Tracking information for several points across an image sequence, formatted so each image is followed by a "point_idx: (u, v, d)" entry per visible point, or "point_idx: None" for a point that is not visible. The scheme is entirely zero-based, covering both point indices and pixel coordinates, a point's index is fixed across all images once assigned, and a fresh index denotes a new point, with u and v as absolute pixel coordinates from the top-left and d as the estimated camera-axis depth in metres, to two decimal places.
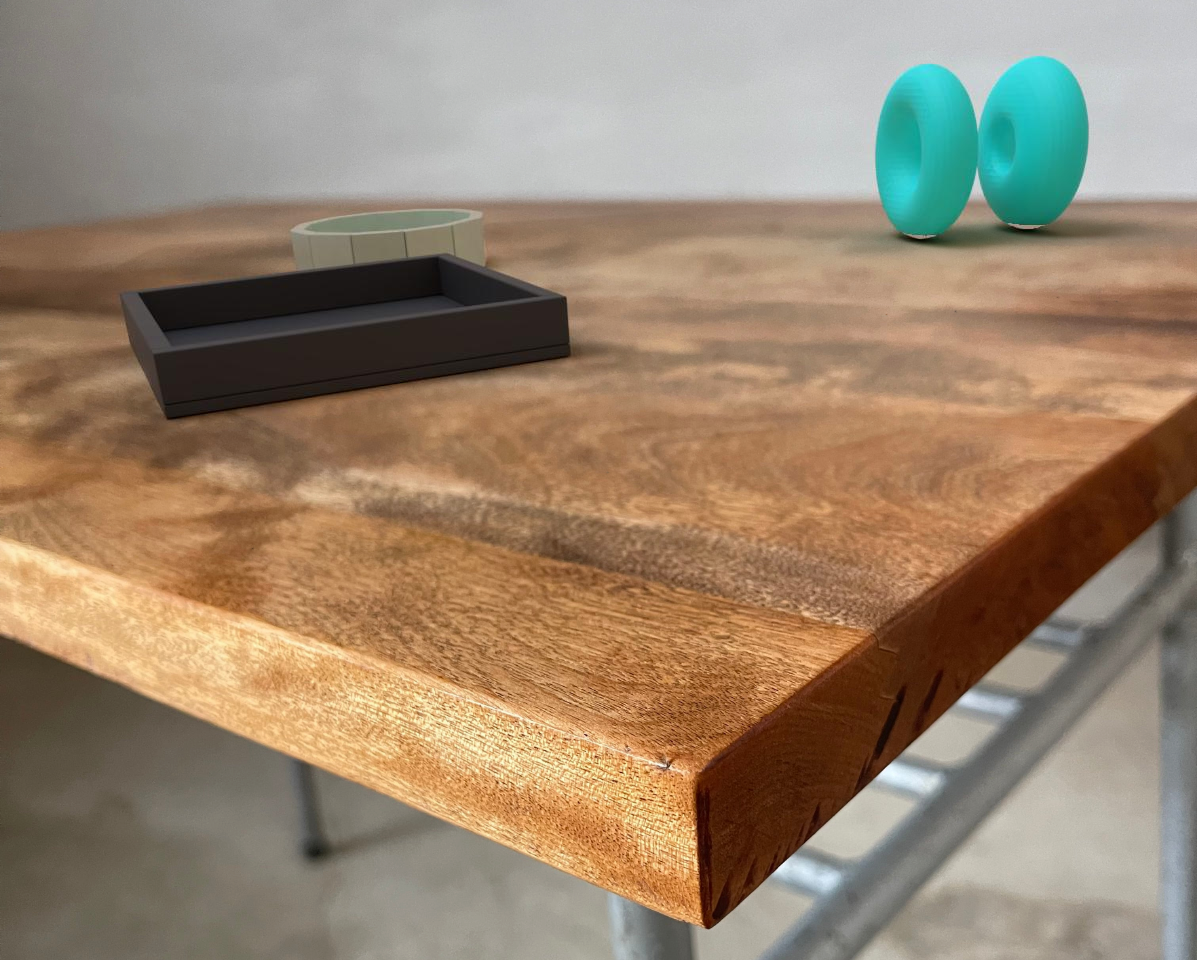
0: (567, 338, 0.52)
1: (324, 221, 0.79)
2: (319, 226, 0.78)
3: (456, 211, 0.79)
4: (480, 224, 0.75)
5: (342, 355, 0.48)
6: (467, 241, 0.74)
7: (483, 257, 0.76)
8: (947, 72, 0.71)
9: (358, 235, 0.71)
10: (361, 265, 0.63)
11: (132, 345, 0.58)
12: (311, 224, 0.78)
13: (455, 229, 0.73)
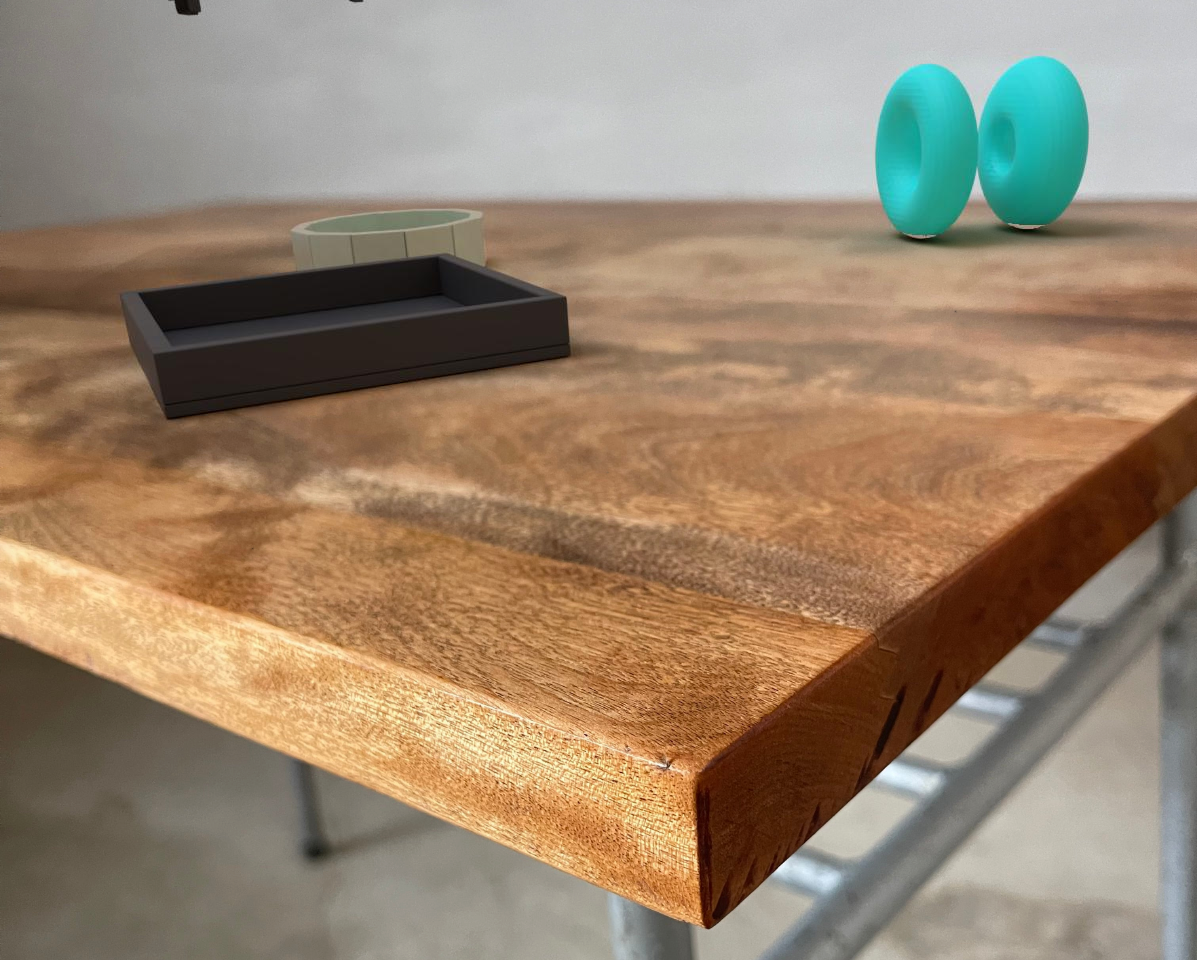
0: (567, 338, 0.52)
1: (324, 221, 0.79)
2: (319, 226, 0.78)
3: (456, 211, 0.79)
4: (480, 224, 0.75)
5: (342, 355, 0.48)
6: (467, 241, 0.74)
7: (483, 257, 0.76)
8: (947, 72, 0.71)
9: (358, 235, 0.71)
10: (361, 265, 0.63)
11: (132, 345, 0.58)
12: (311, 224, 0.78)
13: (455, 229, 0.73)
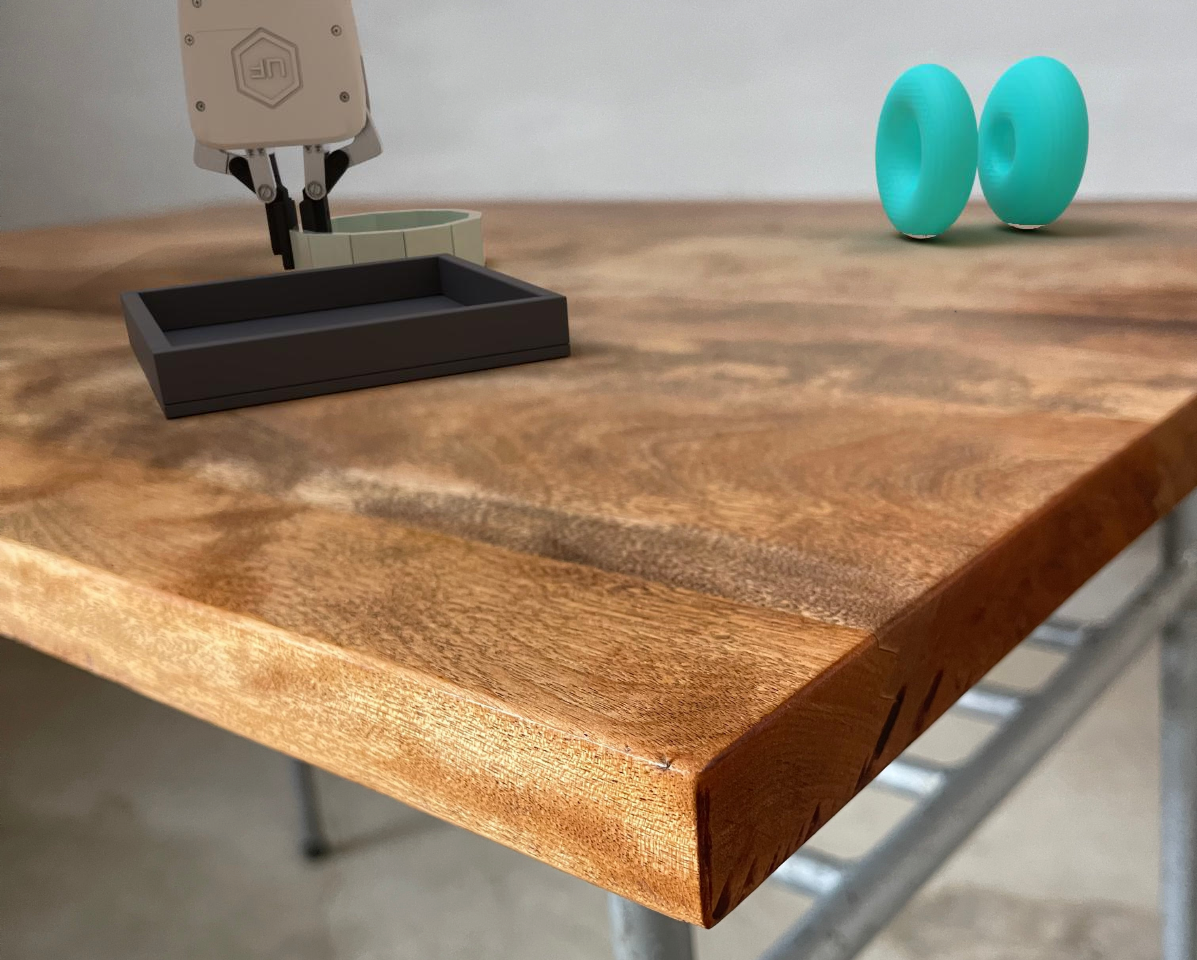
0: (567, 338, 0.52)
1: None
2: None
3: (455, 211, 0.79)
4: (479, 224, 0.75)
5: (342, 355, 0.48)
6: (466, 241, 0.74)
7: (482, 257, 0.76)
8: (947, 72, 0.71)
9: (357, 235, 0.71)
10: (361, 265, 0.63)
11: (132, 345, 0.58)
12: None
13: (454, 229, 0.73)
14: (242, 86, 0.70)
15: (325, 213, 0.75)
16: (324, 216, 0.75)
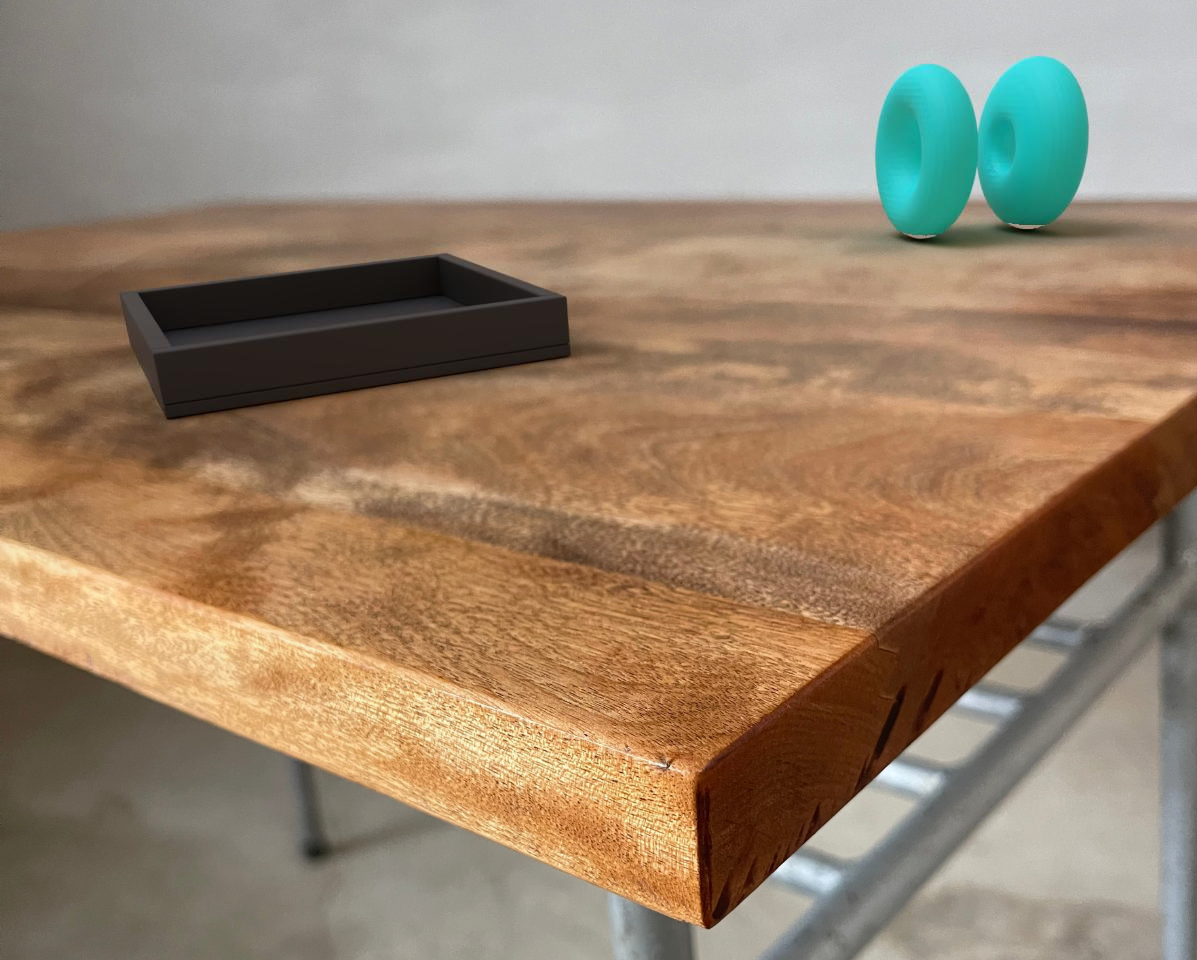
0: (567, 338, 0.52)
1: None
2: None
3: None
4: None
5: (342, 355, 0.48)
6: None
7: None
8: (947, 72, 0.71)
9: None
10: (361, 265, 0.63)
11: (132, 345, 0.58)
12: None
13: None
14: None
15: None
16: None
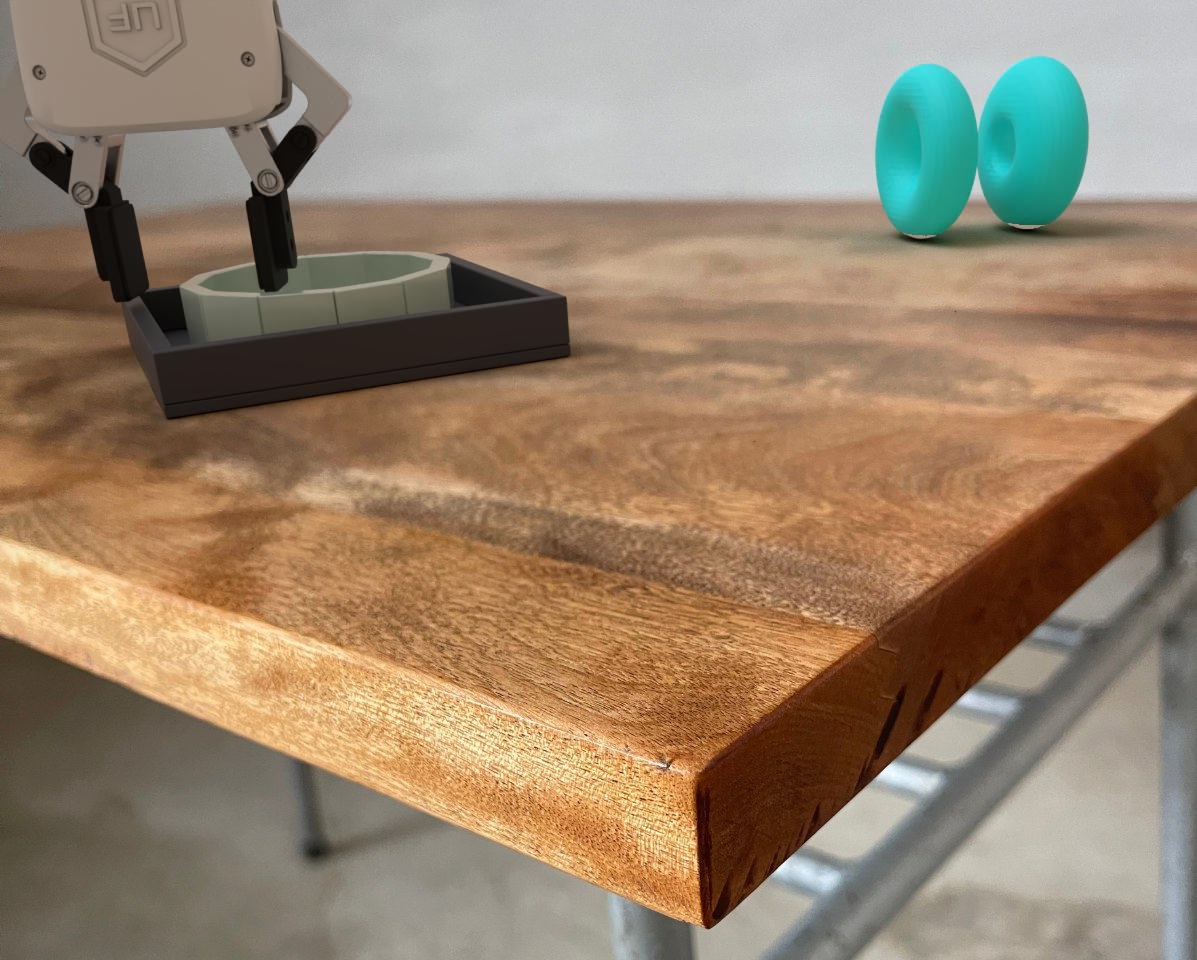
0: (567, 338, 0.52)
1: (233, 270, 0.57)
2: (225, 277, 0.57)
3: (414, 256, 0.58)
4: (445, 277, 0.54)
5: (342, 355, 0.48)
6: (426, 302, 0.53)
7: None
8: (947, 72, 0.71)
9: (268, 297, 0.50)
10: None
11: (132, 345, 0.58)
12: (213, 275, 0.56)
13: (408, 287, 0.52)
14: (98, 43, 0.49)
15: (283, 215, 0.53)
16: (282, 219, 0.53)
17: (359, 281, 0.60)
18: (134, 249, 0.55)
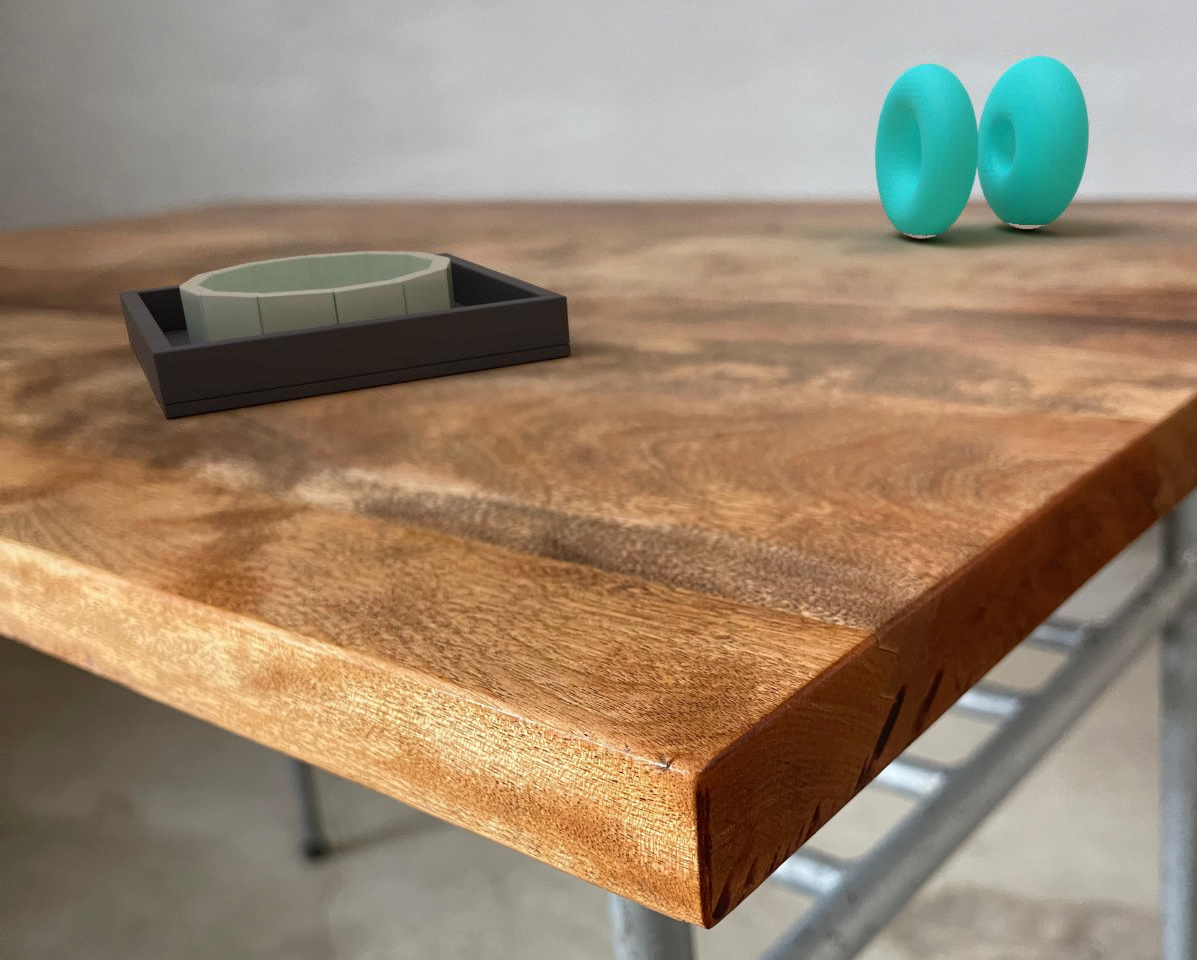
0: (567, 338, 0.52)
1: (233, 270, 0.57)
2: (225, 277, 0.57)
3: (414, 256, 0.58)
4: (445, 277, 0.54)
5: (342, 355, 0.48)
6: (426, 302, 0.53)
7: None
8: (947, 72, 0.71)
9: (268, 297, 0.50)
10: None
11: (132, 345, 0.58)
12: (213, 275, 0.56)
13: (408, 287, 0.52)
14: None
15: None
16: None
17: (359, 281, 0.60)
18: None
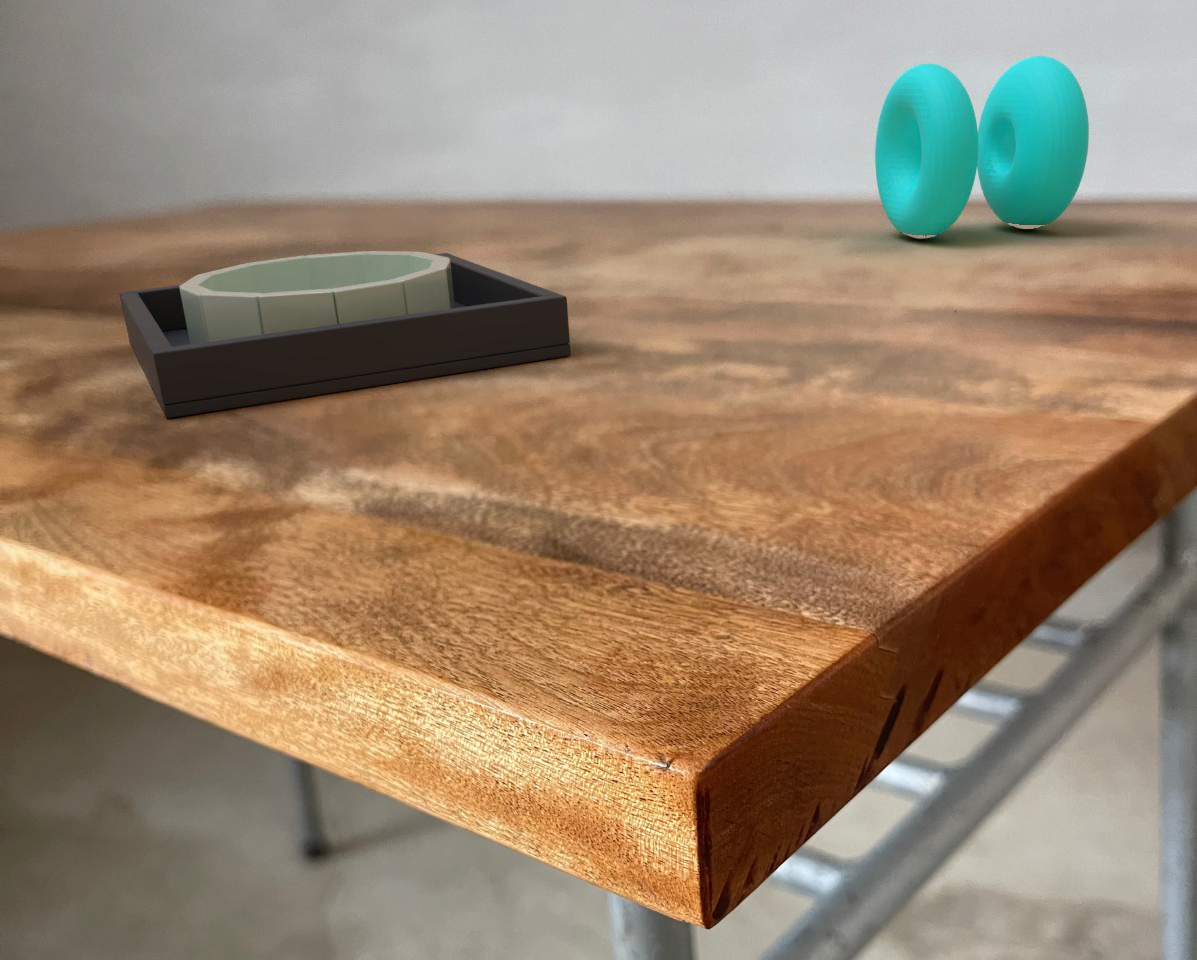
0: (567, 338, 0.52)
1: (233, 270, 0.57)
2: (225, 277, 0.57)
3: (414, 256, 0.58)
4: (445, 277, 0.54)
5: (342, 355, 0.48)
6: (426, 302, 0.53)
7: None
8: (947, 72, 0.71)
9: (268, 297, 0.50)
10: None
11: (132, 345, 0.58)
12: (213, 275, 0.56)
13: (408, 287, 0.52)
14: None
15: None
16: None
17: (359, 281, 0.60)
18: None
